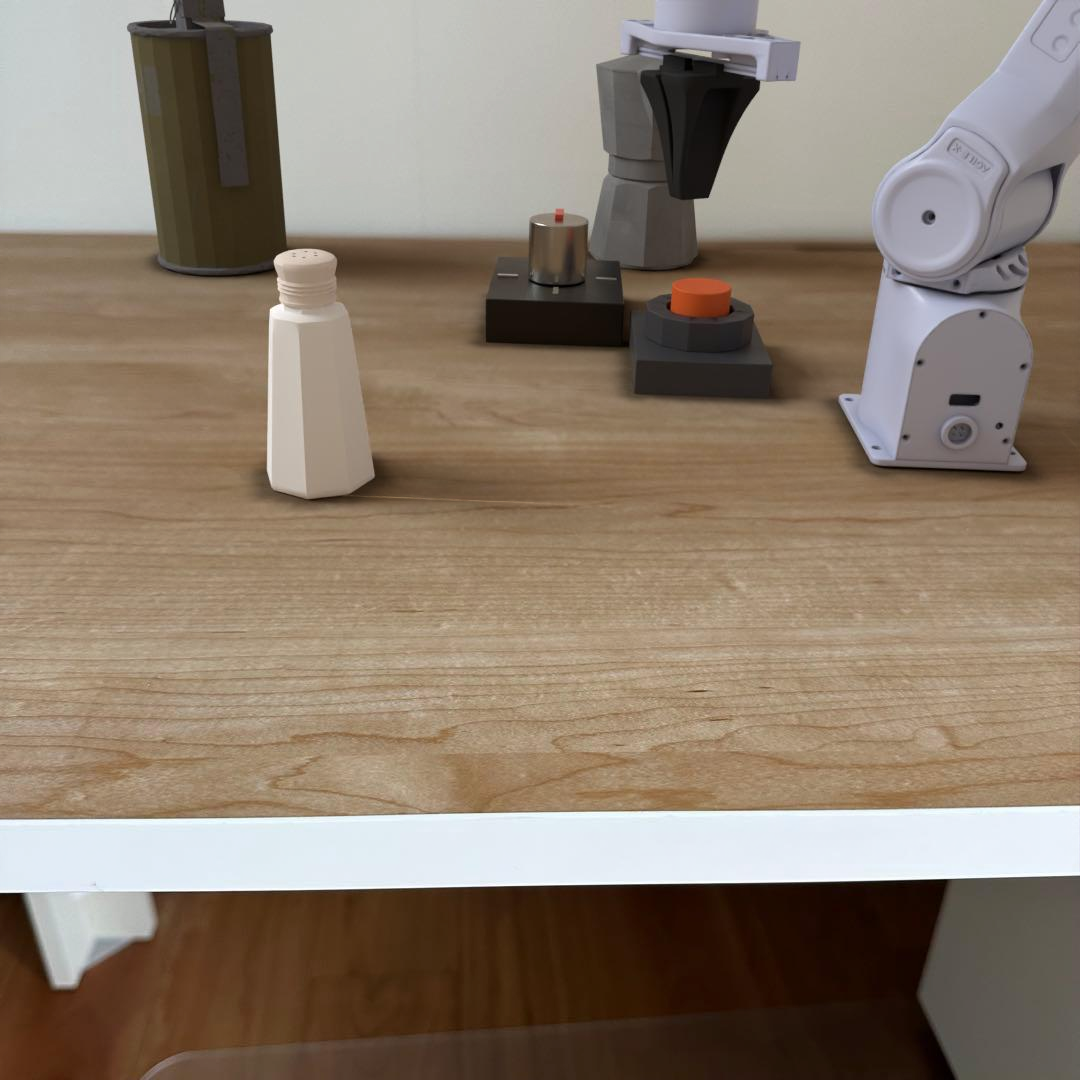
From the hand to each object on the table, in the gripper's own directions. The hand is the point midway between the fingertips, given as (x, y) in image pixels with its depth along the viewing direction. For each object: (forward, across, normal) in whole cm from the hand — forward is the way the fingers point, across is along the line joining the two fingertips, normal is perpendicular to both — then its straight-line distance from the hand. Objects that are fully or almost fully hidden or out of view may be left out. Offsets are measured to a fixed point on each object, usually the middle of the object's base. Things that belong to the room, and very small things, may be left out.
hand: (689, 197), depth 68 cm
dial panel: (+10, +10, +3) cm, 15 cm away
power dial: (+7, +11, +3) cm, 13 cm away
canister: (+11, +35, +20) cm, 42 cm away
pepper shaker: (+10, -7, +26) cm, 29 cm away
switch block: (+10, -2, 0) cm, 10 cm away
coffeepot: (+10, +24, -13) cm, 30 cm away
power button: (+7, -2, 0) cm, 7 cm away
